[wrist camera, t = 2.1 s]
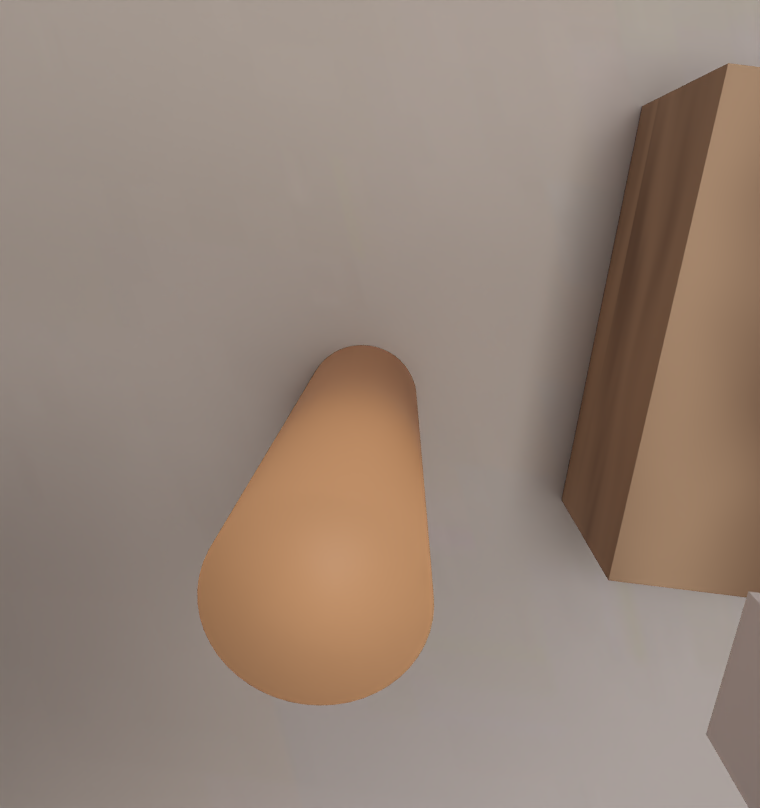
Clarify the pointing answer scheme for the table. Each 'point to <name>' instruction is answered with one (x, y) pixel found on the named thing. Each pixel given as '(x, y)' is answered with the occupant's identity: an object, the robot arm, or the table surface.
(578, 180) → the table surface
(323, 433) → the pin
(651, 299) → the block
